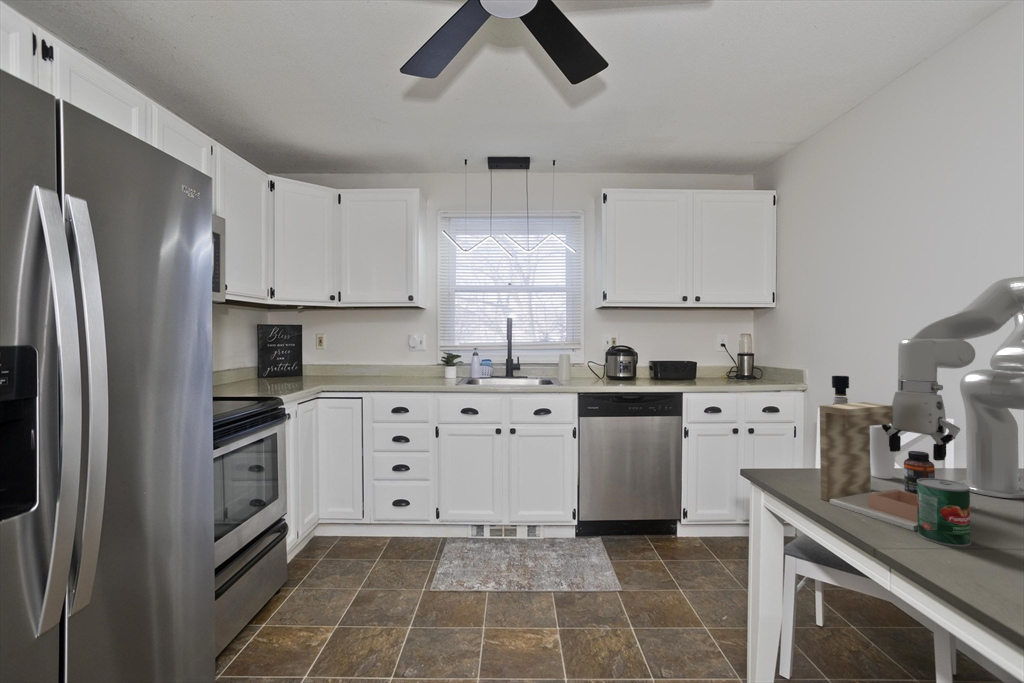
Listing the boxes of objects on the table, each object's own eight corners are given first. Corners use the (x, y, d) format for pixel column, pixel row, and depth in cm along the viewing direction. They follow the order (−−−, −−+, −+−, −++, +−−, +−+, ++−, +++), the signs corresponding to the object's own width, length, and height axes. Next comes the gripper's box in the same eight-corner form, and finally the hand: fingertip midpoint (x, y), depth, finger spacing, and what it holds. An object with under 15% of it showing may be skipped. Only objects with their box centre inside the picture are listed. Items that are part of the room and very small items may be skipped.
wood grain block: (864, 491, 124) (863, 402, 124) (894, 499, 117) (892, 405, 117) (820, 499, 118) (819, 405, 118) (849, 508, 112) (847, 409, 112)
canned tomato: (965, 550, 89) (964, 492, 89) (912, 537, 95) (911, 482, 95) (975, 539, 93) (974, 484, 94) (923, 527, 100) (922, 475, 100)
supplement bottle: (935, 496, 119) (935, 452, 119) (935, 502, 115) (934, 456, 115) (905, 491, 123) (904, 448, 123) (903, 497, 119) (902, 452, 119)
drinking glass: (903, 481, 132) (902, 427, 132) (875, 480, 134) (874, 427, 134) (888, 474, 139) (888, 423, 139) (863, 473, 140) (862, 423, 140)
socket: (874, 495, 120) (874, 479, 120) (961, 520, 104) (960, 501, 104) (829, 503, 115) (829, 487, 115) (913, 530, 98) (913, 511, 98)
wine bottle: (828, 480, 134) (826, 375, 134) (856, 484, 130) (854, 375, 130) (827, 486, 129) (825, 376, 129) (856, 490, 125) (854, 377, 125)
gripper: (969, 390, 112) (968, 462, 112) (889, 384, 128) (888, 447, 128) (949, 391, 109) (948, 465, 109) (870, 384, 126) (869, 449, 126)
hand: (916, 455), depth 119 cm, fingers open, 9 cm apart
